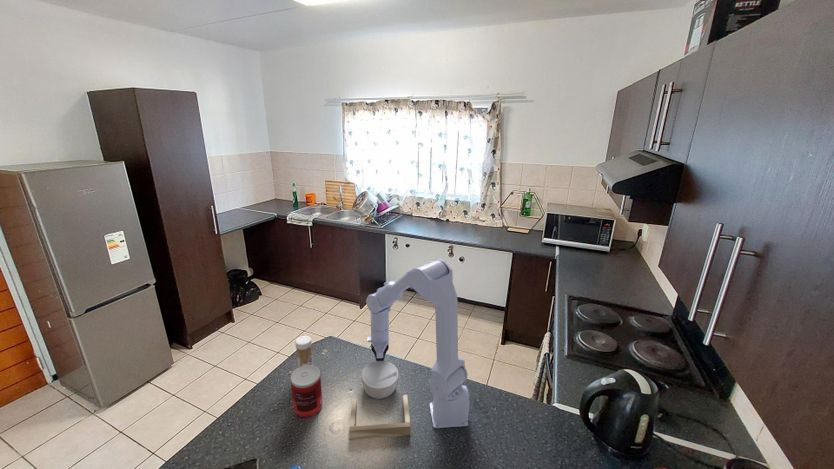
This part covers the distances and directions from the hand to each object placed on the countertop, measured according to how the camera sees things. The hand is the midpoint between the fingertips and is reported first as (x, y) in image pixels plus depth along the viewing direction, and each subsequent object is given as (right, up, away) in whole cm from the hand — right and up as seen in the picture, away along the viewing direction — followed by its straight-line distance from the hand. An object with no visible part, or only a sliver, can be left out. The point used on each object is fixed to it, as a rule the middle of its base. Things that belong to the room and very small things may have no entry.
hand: (380, 361), depth 106 cm
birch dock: (+2, -8, -19) cm, 21 cm away
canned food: (-18, -6, -16) cm, 25 cm away
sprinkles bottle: (-23, -3, -5) cm, 23 cm away
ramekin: (+1, -5, -9) cm, 10 cm away
